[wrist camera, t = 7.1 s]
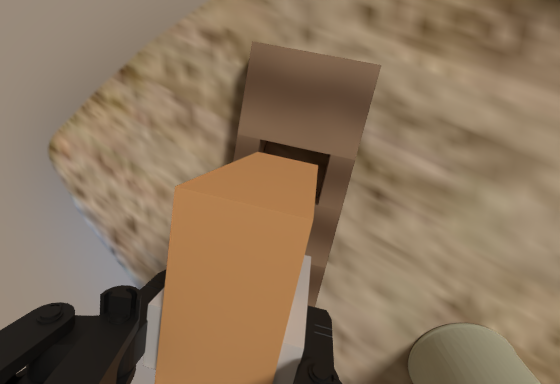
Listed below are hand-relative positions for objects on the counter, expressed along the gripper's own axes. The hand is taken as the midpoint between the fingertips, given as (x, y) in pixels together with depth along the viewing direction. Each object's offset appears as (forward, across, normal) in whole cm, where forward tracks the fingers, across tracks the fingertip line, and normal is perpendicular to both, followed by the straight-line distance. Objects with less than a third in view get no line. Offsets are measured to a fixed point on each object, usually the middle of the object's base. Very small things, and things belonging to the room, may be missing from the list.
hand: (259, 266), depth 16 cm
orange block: (+4, 0, 0) cm, 4 cm away
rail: (+9, 0, 0) cm, 9 cm away
